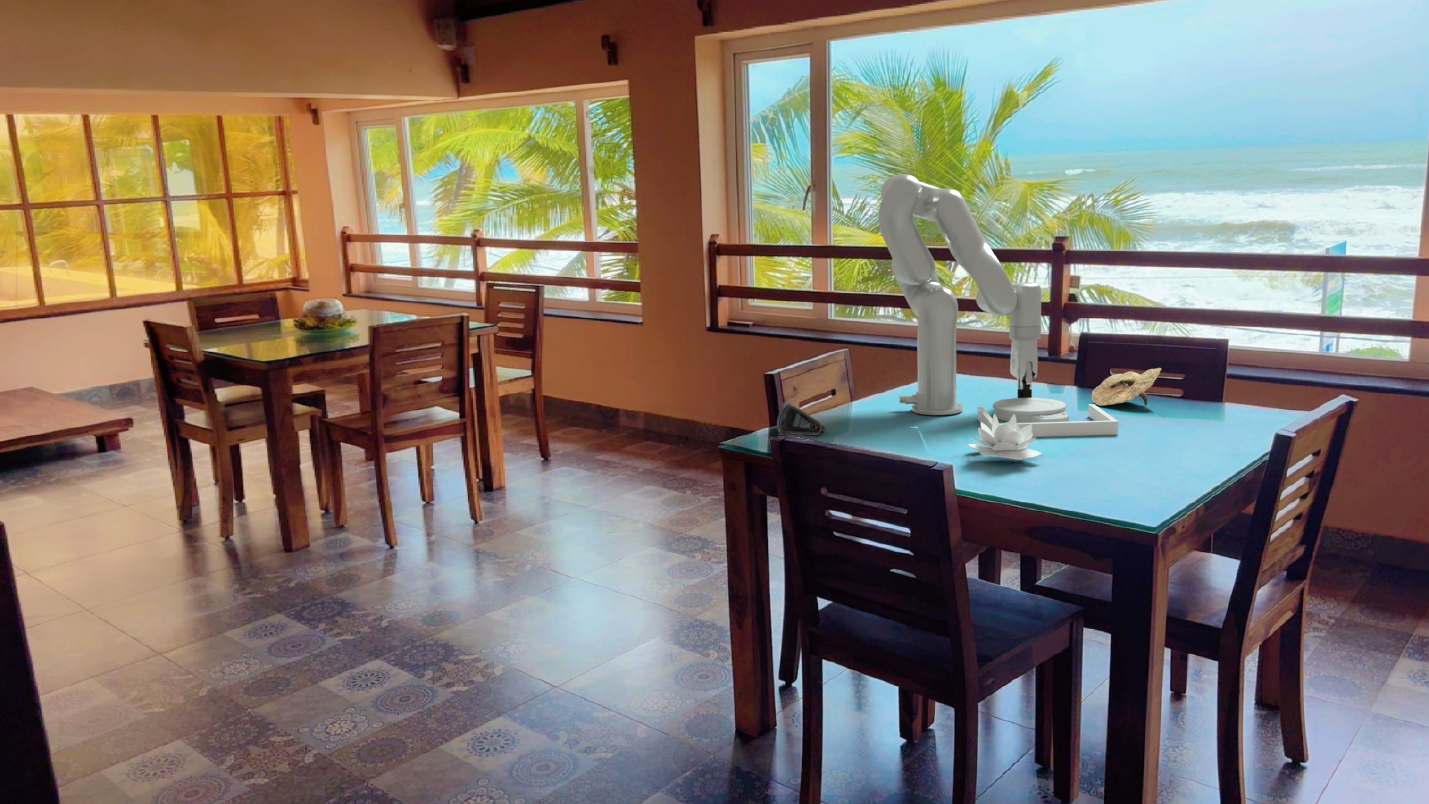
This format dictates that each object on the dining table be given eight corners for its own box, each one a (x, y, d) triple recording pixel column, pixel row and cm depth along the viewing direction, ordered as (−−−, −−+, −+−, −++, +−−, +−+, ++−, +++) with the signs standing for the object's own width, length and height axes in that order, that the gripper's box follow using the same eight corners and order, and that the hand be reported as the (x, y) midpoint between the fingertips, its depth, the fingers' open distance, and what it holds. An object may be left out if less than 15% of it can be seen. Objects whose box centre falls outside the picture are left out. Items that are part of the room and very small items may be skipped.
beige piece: (1089, 427, 269) (1076, 401, 268) (1112, 403, 278) (1100, 377, 277) (1154, 413, 255) (1141, 385, 254) (1177, 388, 264) (1164, 361, 263)
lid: (1028, 429, 245) (1028, 416, 244) (978, 414, 263) (978, 402, 263) (1089, 420, 251) (1089, 408, 250) (1036, 406, 269) (1036, 395, 269)
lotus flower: (1028, 467, 212) (1029, 424, 210) (957, 459, 220) (956, 418, 219) (1050, 451, 224) (1050, 410, 222) (981, 445, 232) (981, 405, 230)
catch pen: (992, 437, 237) (992, 424, 237) (977, 419, 257) (977, 407, 256) (1118, 434, 235) (1118, 421, 234) (1093, 416, 255) (1093, 403, 254)
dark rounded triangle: (837, 430, 250) (808, 393, 255) (824, 428, 244) (794, 390, 249) (810, 457, 253) (782, 420, 259) (796, 455, 247) (767, 418, 253)
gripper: (1003, 329, 272) (1003, 399, 276) (1016, 337, 258) (1016, 410, 261) (1033, 328, 272) (1032, 398, 275) (1047, 335, 257) (1047, 409, 261)
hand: (1024, 404), depth 268 cm, fingers closed
